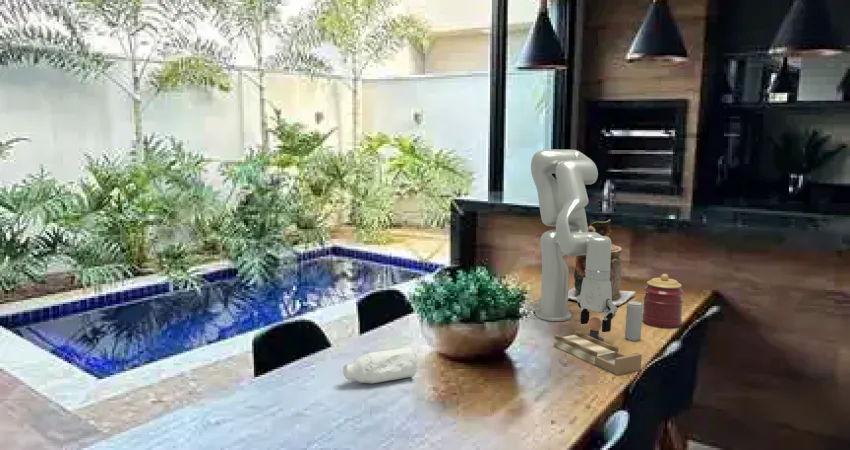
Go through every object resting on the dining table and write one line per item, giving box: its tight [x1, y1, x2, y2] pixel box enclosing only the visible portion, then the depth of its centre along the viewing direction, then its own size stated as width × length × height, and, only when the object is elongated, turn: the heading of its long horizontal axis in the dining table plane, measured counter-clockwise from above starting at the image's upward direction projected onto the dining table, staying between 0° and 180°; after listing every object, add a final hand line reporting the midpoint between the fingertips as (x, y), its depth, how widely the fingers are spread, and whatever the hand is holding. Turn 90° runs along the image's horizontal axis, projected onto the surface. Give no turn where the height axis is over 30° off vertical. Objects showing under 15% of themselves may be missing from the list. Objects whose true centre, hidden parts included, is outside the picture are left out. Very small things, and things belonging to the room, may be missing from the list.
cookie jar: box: [568, 219, 637, 307], centre depth 257 cm, size 25×25×32 cm
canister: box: [642, 273, 685, 329], centre depth 225 cm, size 13×13×18 cm
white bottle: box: [342, 346, 418, 385], centre depth 171 cm, size 8×19×8 cm, turn 115°
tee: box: [589, 329, 604, 342], centre depth 207 cm, size 6×6×3 cm
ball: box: [587, 316, 602, 331], centre depth 207 cm, size 4×4×4 cm
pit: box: [594, 351, 643, 376], centre depth 183 cm, size 9×9×4 cm
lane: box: [553, 330, 619, 366], centre depth 195 cm, size 18×9×4 cm, turn 28°
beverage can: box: [624, 300, 644, 342], centre depth 208 cm, size 5×5×12 cm
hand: (595, 327), depth 206 cm, fingers open, 9 cm apart
